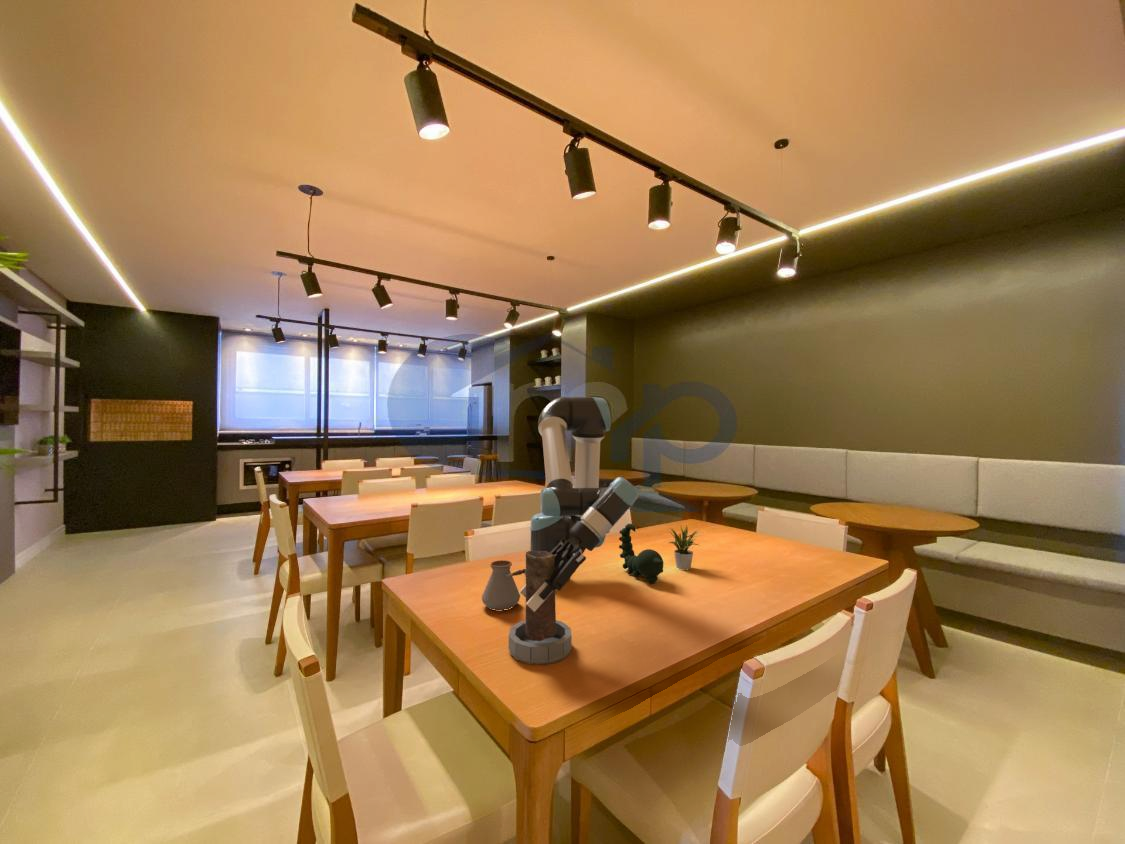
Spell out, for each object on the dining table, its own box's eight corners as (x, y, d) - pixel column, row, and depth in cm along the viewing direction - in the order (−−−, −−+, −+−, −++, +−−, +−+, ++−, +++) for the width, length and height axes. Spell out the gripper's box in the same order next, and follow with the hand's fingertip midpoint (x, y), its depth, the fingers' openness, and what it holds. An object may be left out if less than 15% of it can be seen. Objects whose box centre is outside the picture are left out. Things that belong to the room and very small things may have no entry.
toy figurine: (614, 573, 169) (652, 589, 146) (611, 523, 171) (649, 531, 148) (635, 570, 173) (675, 585, 150) (633, 521, 174) (672, 528, 152)
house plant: (710, 575, 162) (710, 530, 163) (672, 575, 163) (672, 530, 163) (698, 563, 177) (698, 522, 177) (663, 563, 177) (663, 522, 177)
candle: (525, 628, 112) (525, 548, 112) (554, 627, 112) (554, 547, 112) (525, 643, 104) (525, 557, 104) (556, 642, 105) (557, 556, 105)
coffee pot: (475, 604, 135) (475, 554, 135) (508, 596, 141) (508, 548, 142) (510, 630, 118) (510, 573, 118) (546, 619, 124) (546, 565, 125)
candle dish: (496, 654, 105) (496, 637, 105) (530, 629, 118) (530, 614, 118) (551, 671, 98) (551, 652, 98) (581, 642, 111) (581, 626, 111)
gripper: (615, 549, 103) (547, 629, 98) (586, 530, 122) (528, 596, 118) (594, 528, 102) (524, 607, 97) (568, 512, 121) (508, 577, 116)
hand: (526, 601), depth 107 cm, fingers closed on candle, 7 cm apart
